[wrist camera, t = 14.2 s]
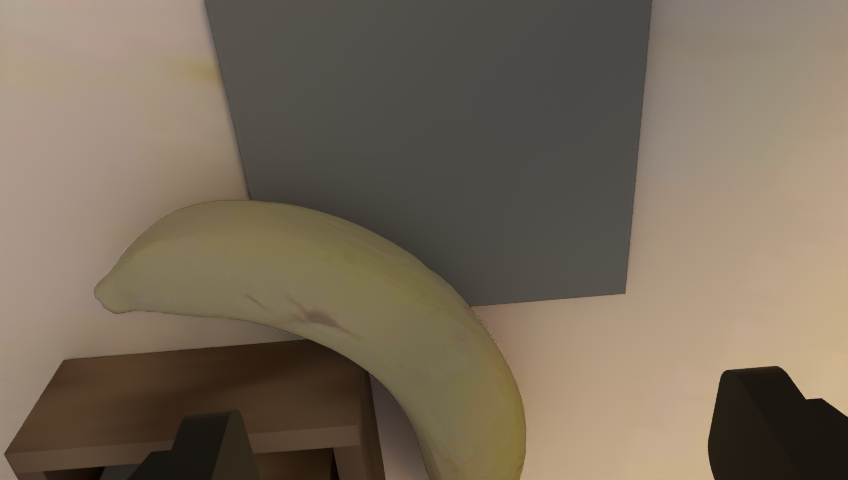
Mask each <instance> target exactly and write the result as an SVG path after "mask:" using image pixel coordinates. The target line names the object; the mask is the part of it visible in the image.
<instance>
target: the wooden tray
mask: <svg viewBox="0 0 848 480" xmlns="http://www.w3.org/2000/svg"><path fill="white" fill-rule="evenodd" d="M231 409H237V410H239V412H240V413H241V415H242V418H243V421H244V425H245V428H246V431H247V435H248V438H249V442H250V445H251V448H252V452H253V454H258V453H271V452H283V451H295V450H307V449H319V448H331V447H333V450H334V455H335V460H336V465H337V470H338V475H339V479H340V480H386V479H385V473H384V467H383V460H382V454H381V447H380V441H379V435H378V428H377V422H376V416H375V409H374V403H373V396H372V390H371V384H370V377H369V372H368V371H367V370H365V369H364V368H363V367H361V366H360V365H358V364H357V363H355V362H354V361H352V360H350V359H349V358H347V357H346V356H344V355H342V354H340V353H338V352H337V351H335V350H333V349H331V348H328V347H326V346H324V345H322V344H319V343H317V342H315V341H312V340H300V341H288V342H276V343H264V344H252V345H240V346H228V347H216V348H204V349H192V350H180V351H168V352H156V353H144V354H132V355H120V356H108V357H96V358H84V359H72V360H63V362H62V363H61V365H60V366H59V368H58V370H57V371H56V373H55V374H54V376H53V377H52V379H51V381H50V382H49V384H48V385H47V387H46V389H45V390H44V392H43V393H42V395H41V396H40V398H39V400H38V401H37V403H36V404H35V406H34V408H33V409H32V411H31V412H30V414H29V415H28V417H27V419H26V420H25V422H24V423H23V425H22V427H21V428H20V430H19V431H18V433H17V434H16V436H15V438H14V439H13V441H12V442H11V444H10V445H9V447H8V449H7V450H6V452H5V453H4V455H5V457H6V459H7V461H8V462H9V464H10V466H11V468H12V469H13V471H14V473H15V475H16V476H17V478H18V480H100V478H101V475H102V473H103V471H104V469H105V467H106V466H113V465H125V464H137V463H142V462H143V461H144V460H145V458H146V457H147V456H148V455H149V454H150V453H151V452H154V451H166V450H171V449H172V446H173V443H174V440H175V438H176V435H177V432H178V430H179V427H180V424H181V422H182V419H183V418H184V416H185V415H186V414H188V413H195V412H207V411H219V410H231Z"/></svg>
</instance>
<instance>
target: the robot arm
mask: <svg viewBox="0 0 848 480" xmlns="http://www.w3.org/2000/svg"><path fill="white" fill-rule="evenodd" d="M708 454H709V461H710V466H711V470H712V473H713V476H714V479H715V480H848V417H847V416H845V415H844V414H843V413H841V412H840V411H838V410H837V409H836V408H834V407H833V406H832V405H830V404H829V403H827V402H826V401H825V400H823V399H822V398H818V399H805V397H804V396H803V395H802V393H801V392H800V391H799V389H798V388H797V386H796V385H795V384H794V382H793V381H792V380H791V378H790V377H789V375H788V374H787V373H786V372H785V371H784V370H783V369H782V368H780V367H778V366H769V367H757V368H745V369H733V370H726V371H724V372H723V374H722V376H721V378H720V382H719V387H718V393H717V398H716V403H715V408H714V413H713V418H712V423H711V429H710V434H709V439H708ZM127 480H260V476H259V472H258V469H257V465H256V462H255V459H254V455H253V452H252V448H251V445H250V442H249V438H248V435H247V431H246V428H245V425H244V421H243V418H242V415H241V413H240V412H239V410H237V409H231V410H219V411H207V412H195V413H188V414H186V415H185V416H184V418H183V419H182V422H181V424H180V427H179V430H178V432H177V435H176V438H175V440H174V443H173V446H172V449H171V450H166V451H154V452H151V453H150V454H149V455H148V456H147V457H146V458H145V460H144V461H143V462H142V463H141V464H140V465H139V466H138V468H137V469H136V470H135V471H134V472H133V473H132V475H131V476H130V477H129V478H128V479H127Z"/></svg>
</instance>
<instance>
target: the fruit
mask: <svg viewBox="0 0 848 480" xmlns="http://www.w3.org/2000/svg"><path fill="white" fill-rule="evenodd" d="M94 295H95V297H96V298H97V299H98V300H99V301H100V302H101V303H102V305H103V306H104V308H106V309H108V310H109V311H111V312H112V313H115V314H119V313H125V312H131V311H147V312H162V313H168V314H177V315H188V316H201V317H214V318H229V319H239V320H244V321H249V322H254V323H258V324H262V325H267V326H271V327H275V328H278V329H281V330H284V331H287V332H290V333H293V334H296V335H299V336H302V337H304V338H307V339H309V340H312V341H315V342H317V343H319V344H322V345H324V346H326V347H328V348H331V349H333V350H335V351H337V352H338V353H340V354H342V355H344V356H346V357H347V358H349V359H350V360H352V361H354V362H355V363H357V364H358V365H360V366H361V367H363V368H364V369H365V370H367V371H368V372H369V373H370V374H372V375H373V376H374V377H375V378H376V379H377V380H379V381H380V382H381V383H382V384H383V385H384V386H385V387H386V388H387V389H388V390H389V391H390V393H391V394H392V395H393V397H394V398H395V399H396V400H397V402H398V403H399V405H400V406H401V407H402V409H403V410H404V412H405V413H406V415H407V417H408V419H409V421H410V423H411V425H412V427H413V429H414V431H415V434H416V436H417V439H418V443H419V447H420V450H421V454H422V457H423V461H424V464H425V468H426V471H427V474H428V476H429V479H430V480H520V475H521V472H522V469H523V465H524V459H525V453H526V423H525V415H524V408H523V403H522V399H521V396H520V392H519V389H518V386H517V384H516V381H515V379H514V377H513V374H512V372H511V370H510V368H509V366H508V364H507V362H506V361H505V359H504V357H503V355H502V353H501V351H500V350H499V348H498V347H497V345H496V344H495V342H494V341H493V339H492V338H491V336H490V335H489V333H488V331H487V330H486V328H485V327H484V325H483V324H482V323H481V321H480V320H479V318H478V317H477V316H476V314H475V313H474V312H473V310H472V309H471V308H470V307H469V305H468V304H467V303H466V302H465V301H464V299H463V298H462V297H461V296H460V295H459V294H458V293H457V292H456V291H455V290H454V288H453V287H452V286H451V285H450V284H448V283H447V282H446V281H445V280H444V279H443V278H442V277H440V276H439V275H438V274H436V273H435V272H434V271H432V270H430V269H429V268H427V267H426V266H425V265H424V264H423V263H422V262H421V261H420V260H419V259H417V258H416V257H415V256H413V255H412V254H410V253H409V252H407V251H406V250H404V249H402V248H401V247H399V246H397V245H396V244H394V243H393V242H391V241H389V240H387V239H385V238H383V237H381V236H380V235H378V234H376V233H374V232H372V231H370V230H368V229H366V228H364V227H361V226H359V225H357V224H355V223H352V222H350V221H347V220H344V219H342V218H339V217H336V216H333V215H330V214H327V213H323V212H320V211H317V210H313V209H309V208H305V207H300V206H296V205H290V204H284V203H277V202H264V201H256V200H222V201H212V202H205V203H201V204H196V205H192V206H188V207H185V208H182V209H180V210H177V211H175V212H173V213H171V214H169V215H167V216H166V217H164V218H162V219H160V220H159V221H157V222H156V223H155V224H153V225H152V226H151V227H150V228H149V229H147V230H146V231H145V232H144V233H143V234H142V235H141V236H140V237H138V238H137V239H136V240H135V241H134V242H133V244H132V245H131V246H130V247H129V248H128V249H127V250H126V251H125V253H124V254H123V255H122V257H121V258H120V259H119V261H118V262H117V263H116V265H115V266H114V267H113V269H112V270H111V271H110V273H108V274H107V275H106V276H105V277H104V278H103V279H102V280H101V281H100V282H99V283H98V284H97V286H96V287H95V289H94Z"/></svg>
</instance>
